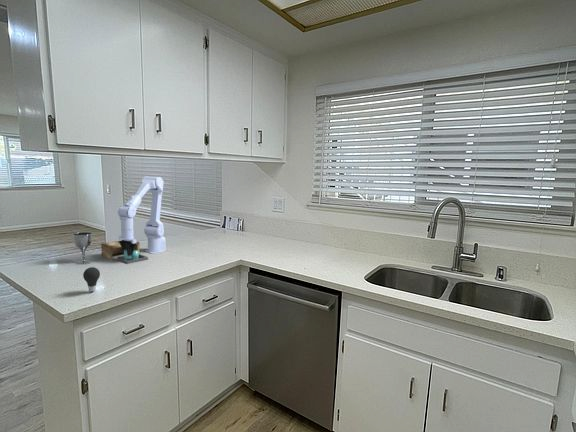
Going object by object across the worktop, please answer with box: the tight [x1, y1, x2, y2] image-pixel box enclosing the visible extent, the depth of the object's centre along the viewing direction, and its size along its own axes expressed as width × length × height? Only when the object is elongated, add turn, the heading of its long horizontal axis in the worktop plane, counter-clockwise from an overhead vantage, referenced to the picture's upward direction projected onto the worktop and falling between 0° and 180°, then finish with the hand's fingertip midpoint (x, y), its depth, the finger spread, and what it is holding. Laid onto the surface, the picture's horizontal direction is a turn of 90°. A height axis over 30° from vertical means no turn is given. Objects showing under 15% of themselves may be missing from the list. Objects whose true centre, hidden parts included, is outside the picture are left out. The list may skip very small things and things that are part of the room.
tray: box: [116, 253, 149, 265], centre depth 168 cm, size 11×11×2 cm
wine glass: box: [72, 231, 93, 265], centre depth 159 cm, size 8×8×15 cm
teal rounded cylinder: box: [131, 250, 139, 260], centre depth 169 cm, size 4×4×4 cm
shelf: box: [100, 240, 141, 260], centre depth 175 cm, size 16×10×7 cm, turn 143°
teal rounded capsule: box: [123, 250, 132, 261], centre depth 166 cm, size 4×4×4 cm
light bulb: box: [82, 266, 101, 293], centre depth 124 cm, size 6×6×10 cm
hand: (128, 254), depth 166 cm, fingers open, 4 cm apart
